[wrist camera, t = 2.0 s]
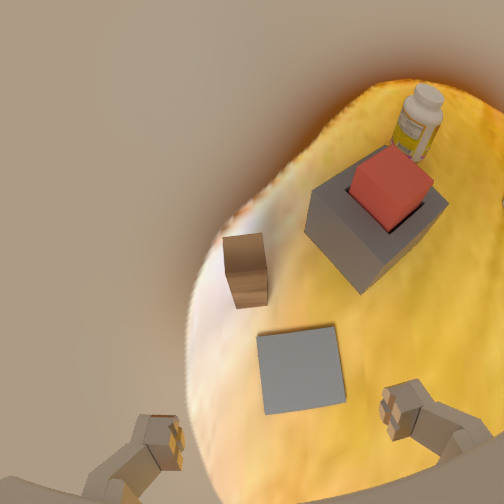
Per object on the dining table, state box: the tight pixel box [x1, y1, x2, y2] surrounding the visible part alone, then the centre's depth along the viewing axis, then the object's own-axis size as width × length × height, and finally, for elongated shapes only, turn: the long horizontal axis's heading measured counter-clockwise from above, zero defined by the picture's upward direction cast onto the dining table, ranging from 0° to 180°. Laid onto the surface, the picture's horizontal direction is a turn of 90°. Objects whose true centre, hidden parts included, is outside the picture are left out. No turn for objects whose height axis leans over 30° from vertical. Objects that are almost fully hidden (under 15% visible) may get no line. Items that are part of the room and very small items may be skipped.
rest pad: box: [256, 326, 346, 415], centre depth 33 cm, size 9×9×1 cm
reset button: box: [348, 144, 434, 233], centre depth 31 cm, size 6×6×5 cm
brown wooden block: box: [223, 233, 267, 309], centre depth 33 cm, size 4×4×11 cm
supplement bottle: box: [391, 84, 444, 162], centre depth 42 cm, size 7×7×13 cm
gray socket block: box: [304, 145, 449, 295], centre depth 37 cm, size 13×11×9 cm
